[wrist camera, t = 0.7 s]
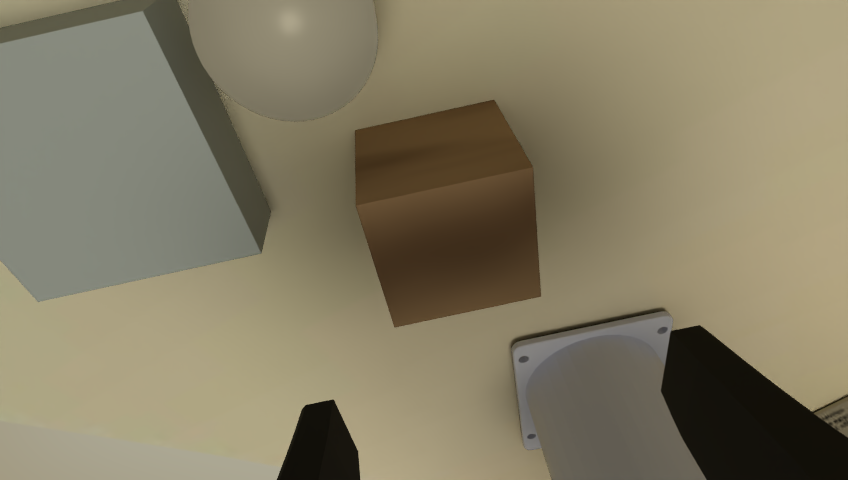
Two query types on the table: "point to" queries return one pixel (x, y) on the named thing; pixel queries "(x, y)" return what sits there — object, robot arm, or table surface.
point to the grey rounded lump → (286, 52)
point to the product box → (836, 415)
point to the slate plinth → (117, 153)
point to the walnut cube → (448, 212)
